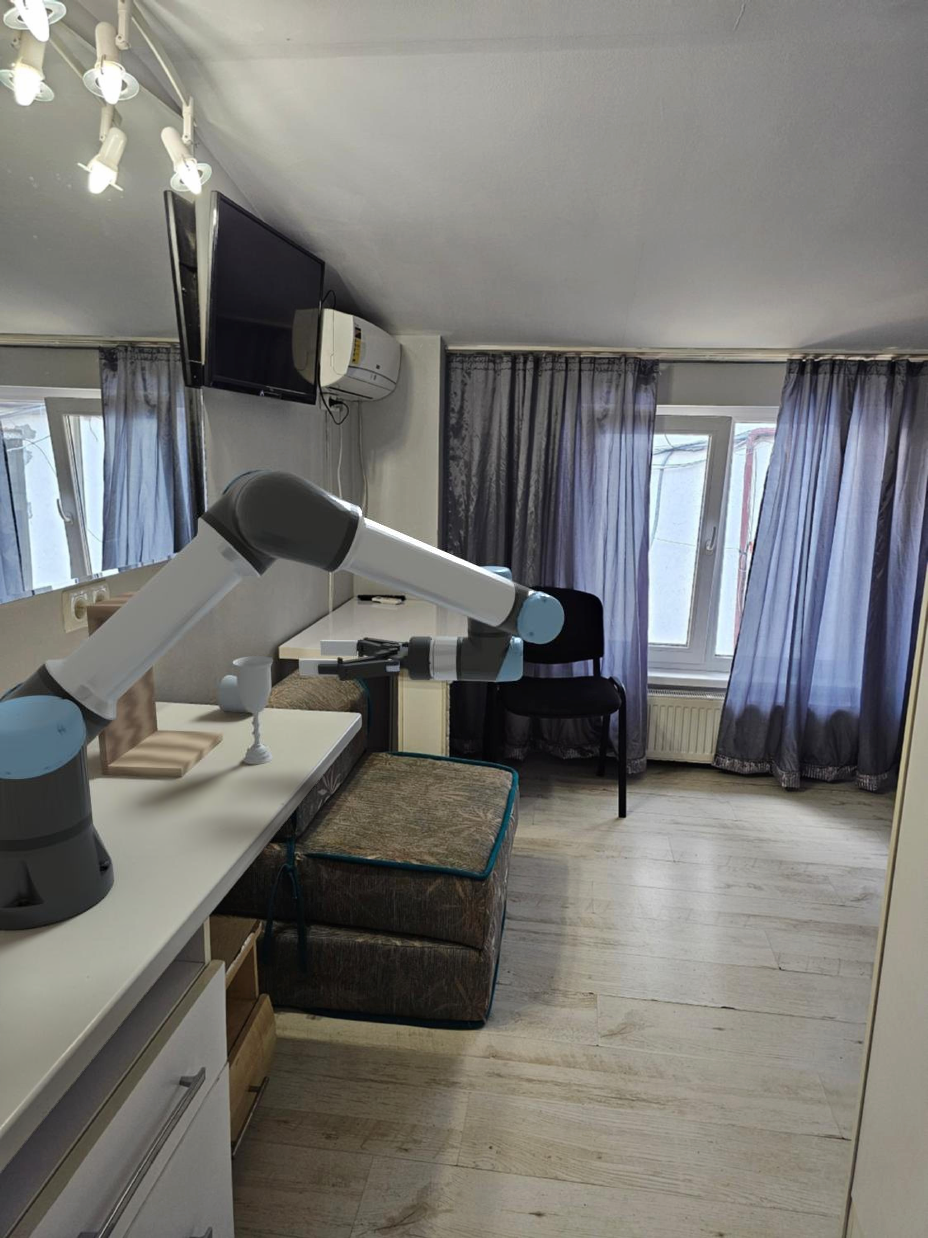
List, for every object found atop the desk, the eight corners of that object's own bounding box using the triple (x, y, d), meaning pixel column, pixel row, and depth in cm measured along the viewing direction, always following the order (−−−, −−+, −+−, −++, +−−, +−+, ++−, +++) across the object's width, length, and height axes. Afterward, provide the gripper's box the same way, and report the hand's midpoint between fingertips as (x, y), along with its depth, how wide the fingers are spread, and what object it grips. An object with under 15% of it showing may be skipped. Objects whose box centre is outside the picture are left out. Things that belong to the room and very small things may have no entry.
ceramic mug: (254, 717, 159) (252, 682, 158) (217, 715, 160) (215, 680, 159) (274, 703, 169) (273, 669, 168) (239, 701, 171) (238, 668, 169)
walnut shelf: (181, 776, 129) (169, 607, 123) (101, 774, 130) (86, 605, 124) (223, 739, 146) (214, 589, 140) (152, 737, 147) (140, 588, 142)
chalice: (235, 754, 139) (230, 658, 135) (274, 749, 141) (269, 654, 138) (241, 769, 132) (235, 668, 128) (280, 763, 135) (276, 664, 131)
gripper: (424, 701, 119) (290, 699, 121) (440, 661, 144) (329, 659, 145) (423, 655, 118) (288, 653, 119) (440, 622, 142) (328, 621, 144)
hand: (310, 657), depth 132 cm, fingers open, 13 cm apart
